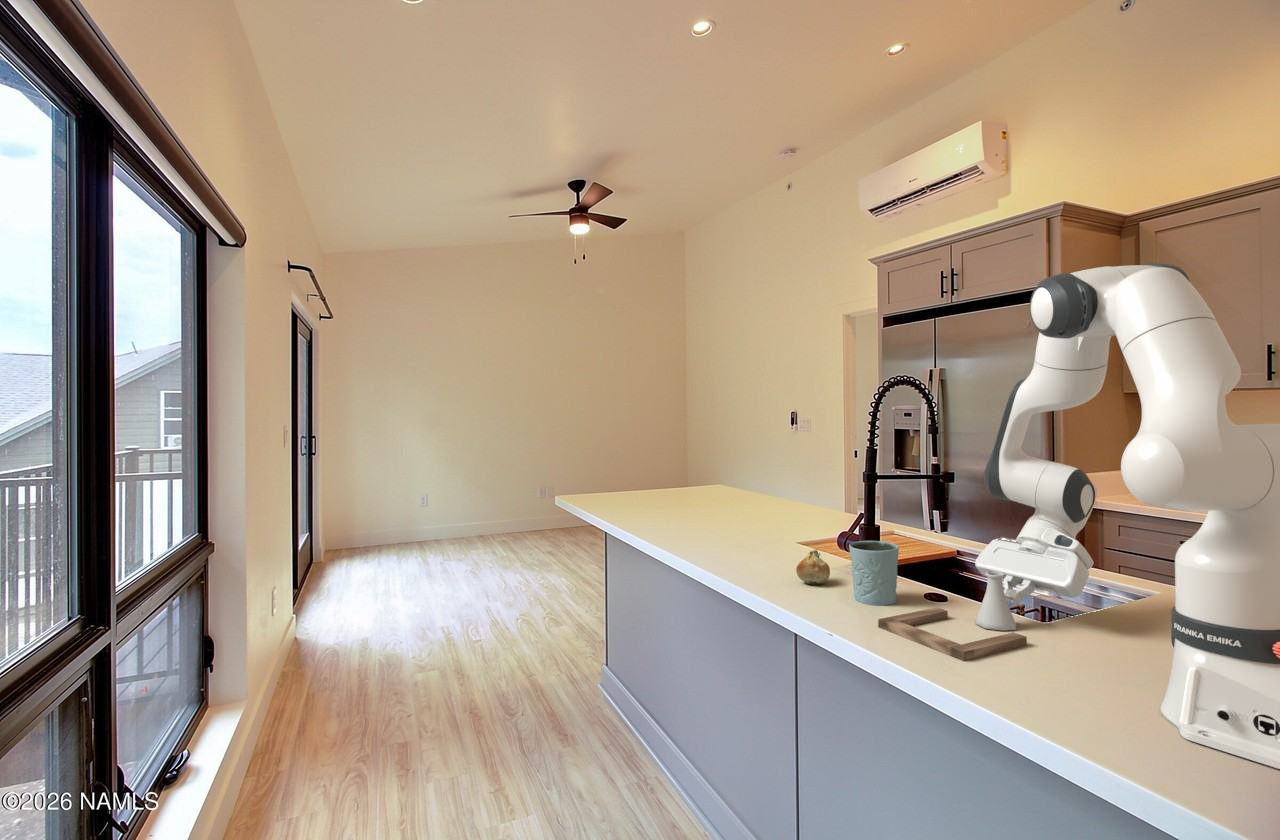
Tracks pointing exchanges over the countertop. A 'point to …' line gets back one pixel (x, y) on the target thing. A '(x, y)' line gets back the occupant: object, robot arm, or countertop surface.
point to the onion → (813, 569)
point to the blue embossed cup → (874, 572)
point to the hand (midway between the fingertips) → (1009, 600)
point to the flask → (995, 606)
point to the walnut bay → (963, 652)
